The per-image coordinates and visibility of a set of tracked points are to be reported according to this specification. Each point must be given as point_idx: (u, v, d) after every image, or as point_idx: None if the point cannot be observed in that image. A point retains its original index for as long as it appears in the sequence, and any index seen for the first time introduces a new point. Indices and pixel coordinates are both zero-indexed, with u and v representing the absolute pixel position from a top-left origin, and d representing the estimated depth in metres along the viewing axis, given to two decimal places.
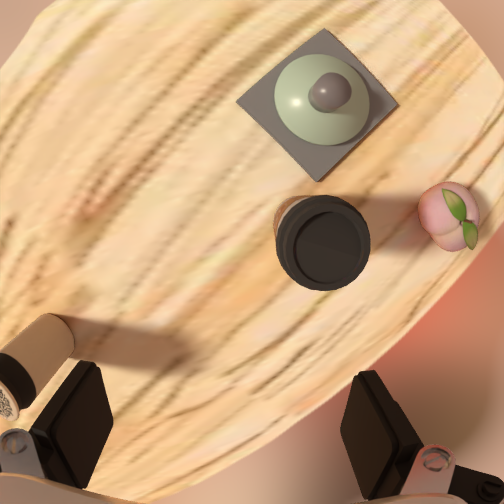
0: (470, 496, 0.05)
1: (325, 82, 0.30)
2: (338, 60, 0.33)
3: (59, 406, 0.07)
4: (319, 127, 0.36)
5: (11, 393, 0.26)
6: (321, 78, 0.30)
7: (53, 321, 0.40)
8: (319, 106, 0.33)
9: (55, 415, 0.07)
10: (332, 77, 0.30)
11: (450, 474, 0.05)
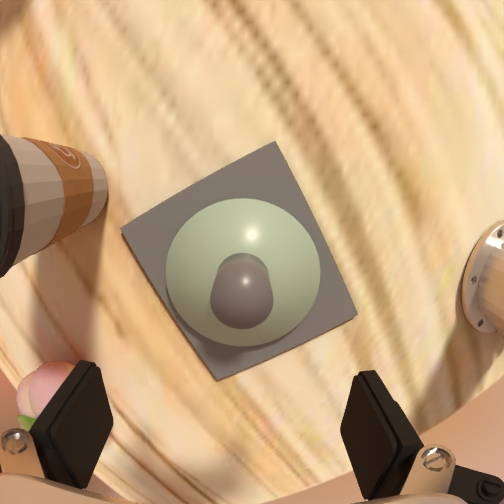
0: (470, 496, 0.05)
1: (256, 291, 0.20)
2: (299, 319, 0.25)
3: (59, 406, 0.07)
4: (195, 255, 0.24)
5: None
6: (265, 285, 0.20)
7: None
8: (223, 266, 0.22)
9: (55, 416, 0.07)
10: (263, 304, 0.20)
11: (450, 475, 0.05)
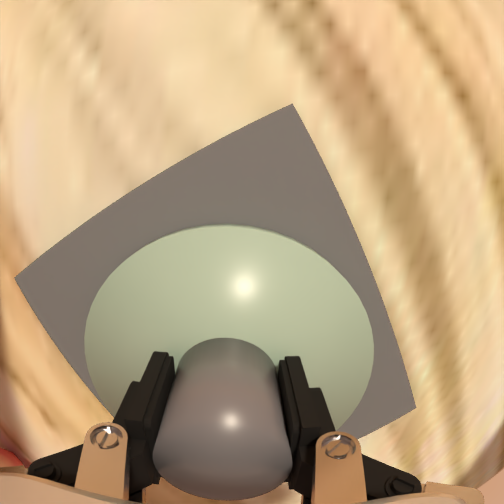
0: None
1: (256, 454, 0.07)
2: None
3: (148, 395, 0.08)
4: (132, 340, 0.11)
5: None
6: (275, 445, 0.07)
7: None
8: (183, 378, 0.09)
9: (147, 405, 0.08)
10: (269, 472, 0.08)
11: (359, 457, 0.07)
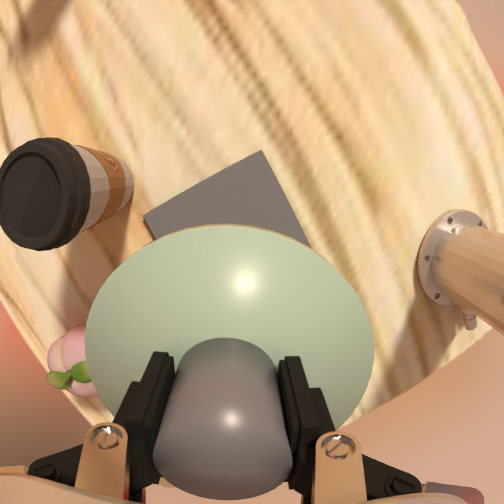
0: None
1: (256, 454, 0.07)
2: None
3: (148, 395, 0.08)
4: (132, 340, 0.11)
5: None
6: (275, 445, 0.07)
7: None
8: (183, 378, 0.09)
9: (147, 405, 0.08)
10: (269, 471, 0.08)
11: (359, 457, 0.07)
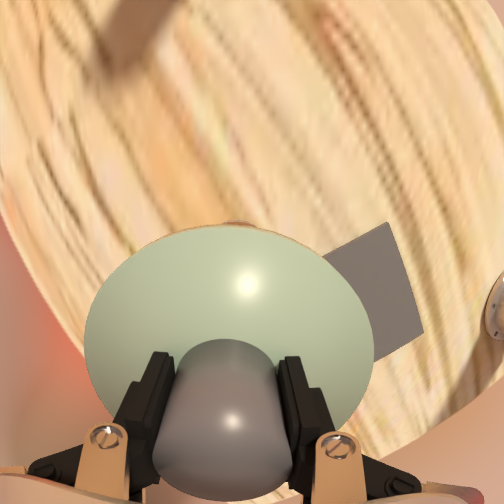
0: None
1: (256, 456, 0.07)
2: None
3: (148, 395, 0.08)
4: (132, 341, 0.11)
5: None
6: (275, 447, 0.07)
7: None
8: (183, 379, 0.09)
9: (147, 405, 0.08)
10: (269, 473, 0.08)
11: (359, 457, 0.07)
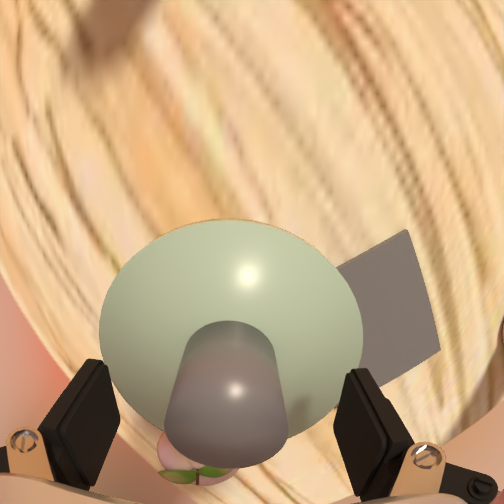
0: (461, 495, 0.05)
1: (256, 419, 0.09)
2: (323, 413, 0.14)
3: (68, 404, 0.07)
4: (144, 324, 0.13)
5: None
6: (273, 410, 0.09)
7: None
8: (191, 355, 0.11)
9: (64, 413, 0.07)
10: (268, 438, 0.09)
11: (441, 471, 0.05)
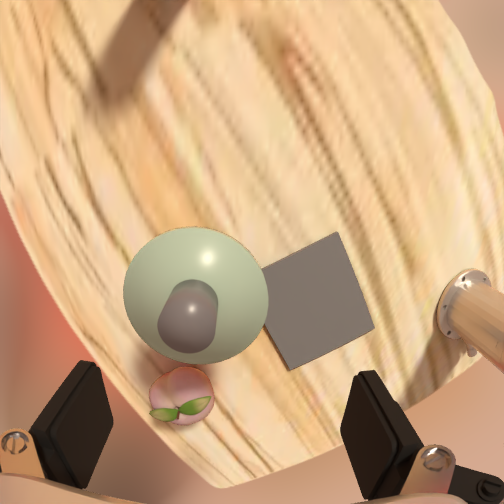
0: (470, 496, 0.05)
1: (199, 320, 0.21)
2: (249, 341, 0.26)
3: (59, 406, 0.07)
4: (149, 281, 0.25)
5: None
6: (206, 315, 0.21)
7: None
8: (172, 293, 0.23)
9: (55, 416, 0.07)
10: (205, 332, 0.21)
11: (451, 475, 0.05)
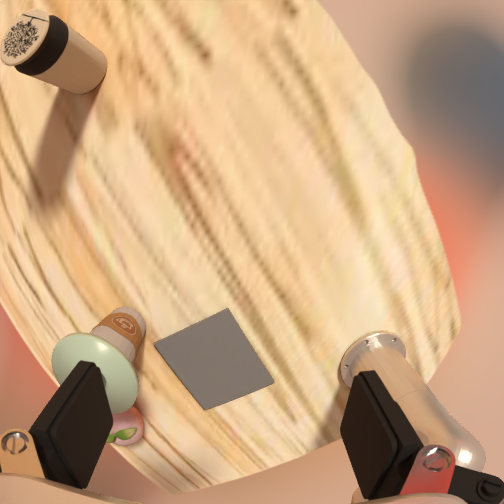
0: (470, 496, 0.05)
1: None
2: (130, 404, 0.34)
3: (59, 406, 0.07)
4: (64, 363, 0.33)
5: (20, 62, 0.23)
6: None
7: (94, 81, 0.38)
8: None
9: (55, 415, 0.07)
10: None
11: (450, 475, 0.05)
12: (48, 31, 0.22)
